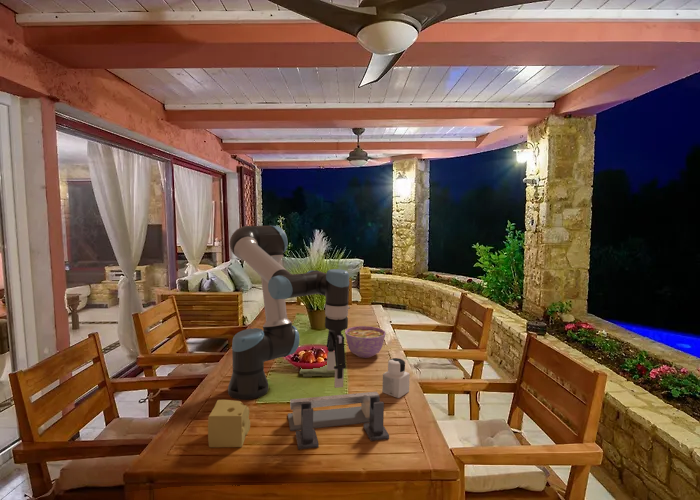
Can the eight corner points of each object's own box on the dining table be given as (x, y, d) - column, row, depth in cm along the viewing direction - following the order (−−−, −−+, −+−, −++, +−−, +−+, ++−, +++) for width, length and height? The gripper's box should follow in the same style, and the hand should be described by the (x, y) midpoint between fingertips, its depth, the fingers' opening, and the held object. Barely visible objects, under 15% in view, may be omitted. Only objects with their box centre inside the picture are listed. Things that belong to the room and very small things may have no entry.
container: (392, 386, 159) (393, 355, 158) (409, 391, 155) (410, 359, 153) (381, 392, 153) (382, 360, 152) (398, 398, 149) (399, 365, 147)
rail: (290, 409, 129) (290, 402, 129) (290, 406, 131) (290, 399, 131) (378, 401, 136) (378, 394, 135) (376, 398, 138) (376, 391, 138)
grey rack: (298, 449, 116) (298, 413, 115) (295, 434, 123) (295, 400, 122) (389, 438, 122) (390, 404, 121) (381, 425, 130) (382, 393, 129)
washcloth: (301, 366, 179) (301, 359, 179) (339, 366, 181) (339, 359, 180) (299, 378, 166) (299, 370, 166) (340, 377, 168) (341, 370, 167)
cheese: (250, 429, 126) (250, 399, 125) (242, 449, 115) (242, 416, 115) (217, 429, 126) (217, 399, 125) (206, 449, 115) (205, 416, 114)
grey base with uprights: (290, 430, 125) (290, 415, 125) (287, 415, 135) (287, 401, 135) (383, 420, 132) (383, 406, 132) (374, 406, 142) (374, 393, 142)
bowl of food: (390, 351, 199) (391, 329, 198) (376, 365, 181) (377, 340, 180) (354, 345, 208) (355, 324, 207) (337, 357, 190) (337, 334, 189)
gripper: (356, 327, 119) (354, 394, 122) (340, 306, 143) (338, 362, 146) (332, 328, 118) (330, 396, 120) (319, 307, 142) (318, 363, 144)
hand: (334, 377), depth 133 cm, fingers open, 13 cm apart
